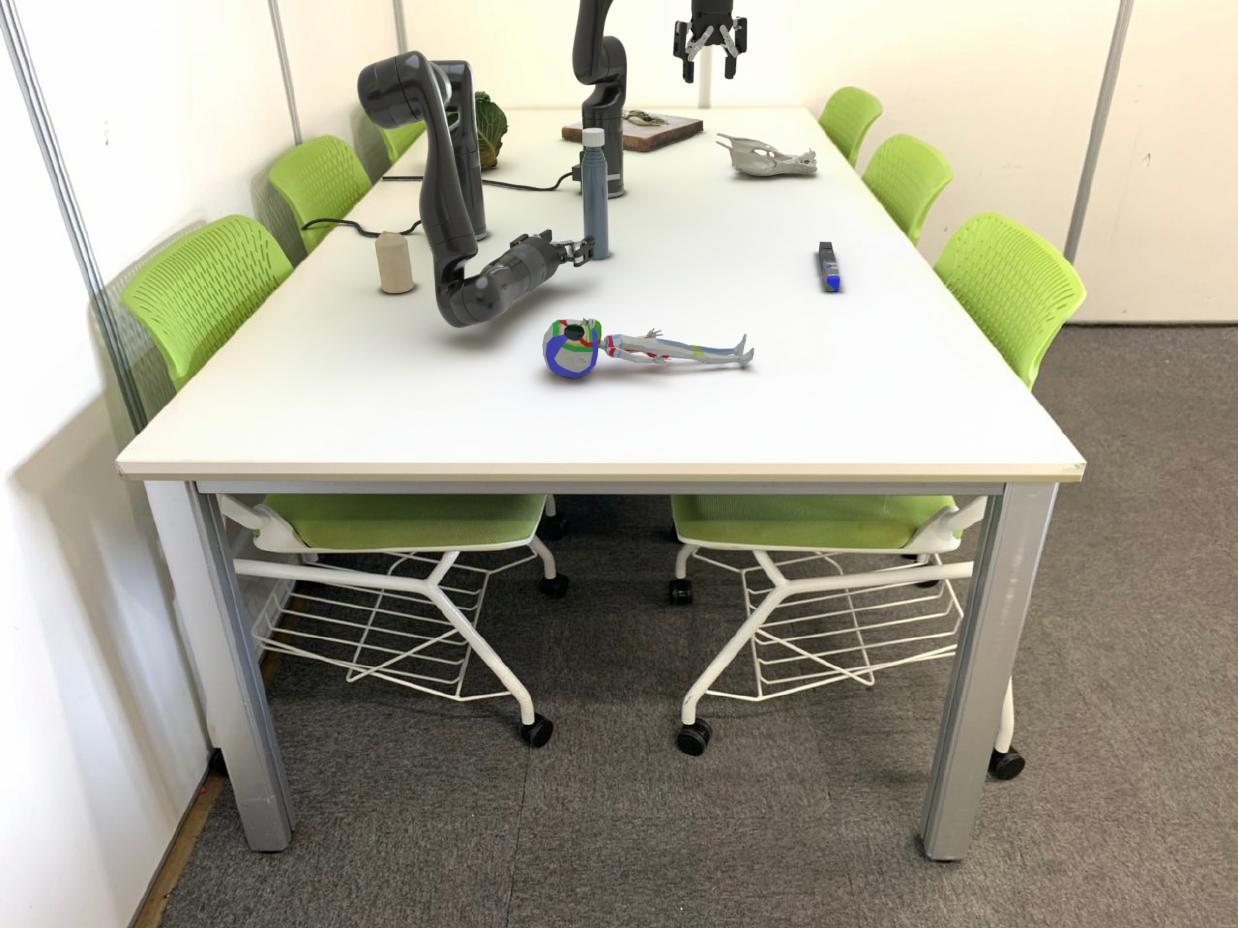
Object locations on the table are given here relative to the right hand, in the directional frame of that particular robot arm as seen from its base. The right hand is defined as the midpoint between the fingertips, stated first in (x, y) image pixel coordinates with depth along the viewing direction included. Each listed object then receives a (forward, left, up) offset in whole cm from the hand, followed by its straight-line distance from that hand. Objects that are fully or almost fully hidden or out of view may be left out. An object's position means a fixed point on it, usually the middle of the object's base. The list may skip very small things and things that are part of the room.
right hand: (709, 81), depth 167 cm
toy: (+17, -60, -29) cm, 69 cm away
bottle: (-14, -20, -29) cm, 38 cm away
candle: (-37, -51, -29) cm, 69 cm away
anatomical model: (-5, +50, -29) cm, 58 cm away
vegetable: (-75, +23, -29) cm, 84 cm away
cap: (-14, -20, -6) cm, 25 cm away
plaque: (-54, +74, -29) cm, 96 cm away
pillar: (+29, -10, -29) cm, 42 cm away
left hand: (-13, -31, -23) cm, 40 cm away
